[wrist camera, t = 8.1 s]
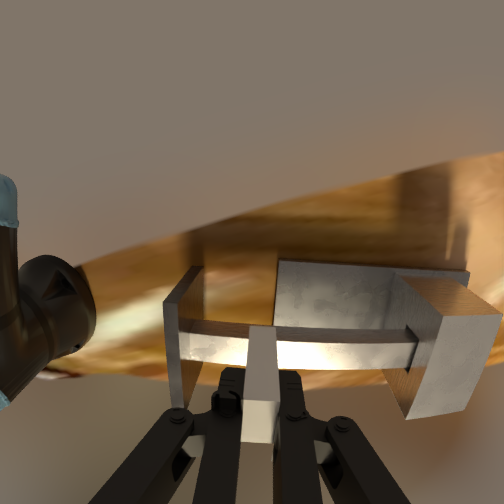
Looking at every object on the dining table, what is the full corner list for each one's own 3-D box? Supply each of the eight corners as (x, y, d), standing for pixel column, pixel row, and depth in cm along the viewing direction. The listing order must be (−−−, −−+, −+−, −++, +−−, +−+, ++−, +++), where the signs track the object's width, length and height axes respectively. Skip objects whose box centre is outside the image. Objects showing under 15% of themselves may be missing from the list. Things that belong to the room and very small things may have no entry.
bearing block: (270, 354, 39) (268, 427, 26) (279, 258, 36) (283, 306, 23) (443, 353, 38) (485, 407, 25) (466, 270, 35) (527, 308, 22)
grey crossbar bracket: (194, 359, 36) (172, 414, 26) (192, 265, 33) (162, 302, 23) (407, 367, 35) (436, 415, 25) (431, 280, 32) (476, 315, 22)
